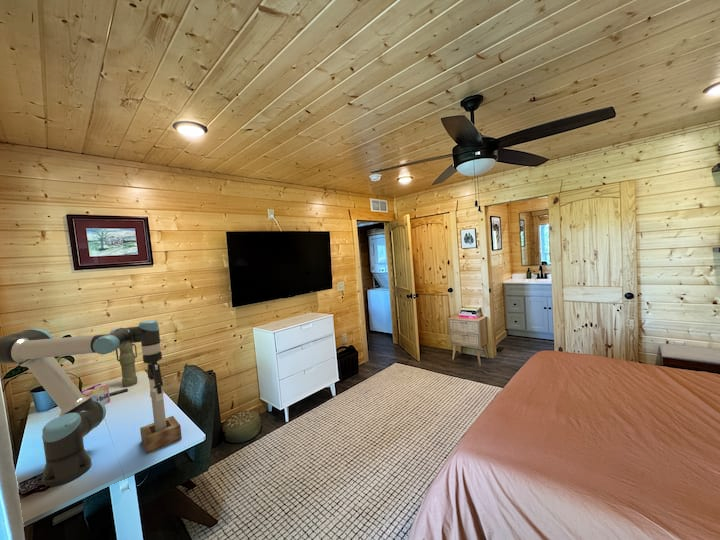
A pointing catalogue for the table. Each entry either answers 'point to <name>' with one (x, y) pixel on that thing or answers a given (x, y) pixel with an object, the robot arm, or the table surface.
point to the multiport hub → (118, 392)
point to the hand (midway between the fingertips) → (156, 396)
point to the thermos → (127, 364)
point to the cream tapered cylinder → (158, 411)
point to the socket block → (160, 435)
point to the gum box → (98, 393)
